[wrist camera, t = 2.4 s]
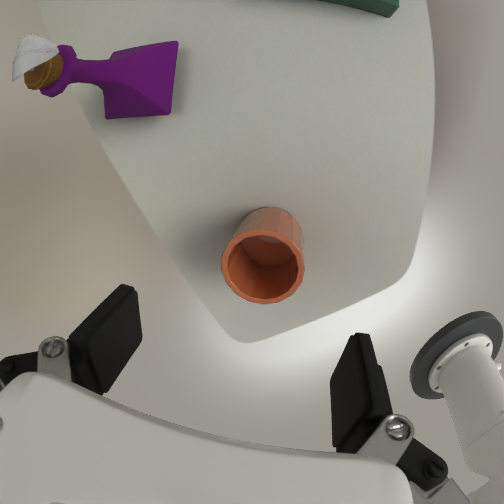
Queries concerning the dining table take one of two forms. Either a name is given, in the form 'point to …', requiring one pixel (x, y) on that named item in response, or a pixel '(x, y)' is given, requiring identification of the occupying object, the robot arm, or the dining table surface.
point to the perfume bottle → (103, 74)
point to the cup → (265, 257)
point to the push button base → (371, 5)
